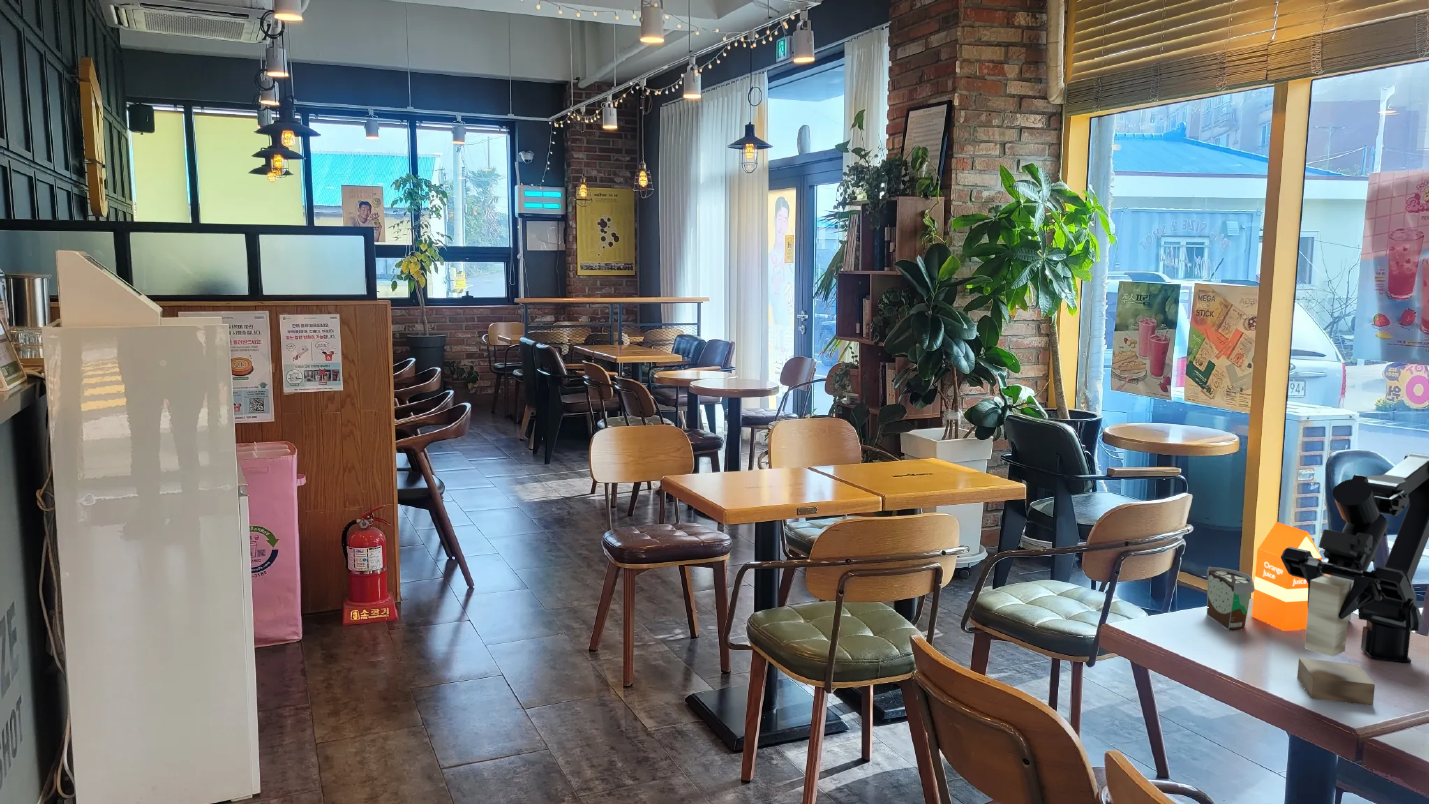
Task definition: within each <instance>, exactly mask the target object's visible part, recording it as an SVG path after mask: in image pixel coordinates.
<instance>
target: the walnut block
mask: <svg viewBox="0 0 1429 804" xmlns="http://www.w3.org/2000/svg"><path fill="white" fill-rule="evenodd" d="M1296 678H1297V681H1298V682H1299V683H1300V685H1301V686H1302V688H1303V689H1304V688H1305V689H1304V690H1305V692H1306V691H1307V692H1306V693H1307V695H1308V696H1309V698H1310V699H1311V698H1312V699H1314V700H1322V701H1330V702H1336V703H1345V702H1347V704H1355V705H1363V706H1369V707H1370V706H1371V707H1373V705H1374V700H1375V699H1374V697H1375V689H1376V684H1375V682H1374V681H1373V680H1372V679H1371V678H1370V677H1369V675H1368V674H1367V673H1366V672H1365V671H1364V670H1363V669H1362V667H1361V666H1360V665H1359V664H1357V663H1348V662H1338V661H1330V660H1320V659H1312V658H1304V657H1298V667H1297V677H1296Z"/></svg>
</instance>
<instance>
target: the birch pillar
mask: <svg viewBox="0 0 1429 804" xmlns="http://www.w3.org/2000/svg"><path fill="white" fill-rule="evenodd" d="M1351 583H1352V582H1347V581H1343V580H1339V579H1335V578H1330V577H1326V576H1321V577H1318V578H1315V579H1313V580H1311V581H1310V593H1309V604H1308V615H1307V626H1306V629H1305V636H1304V637H1305V640H1304V649H1306V650H1309V651H1312V652H1316V653H1320V654H1323V655H1326V656H1329V657H1335V656H1337V655H1339V654H1341V653H1343V652H1346V642H1347V635H1348V633H1347V632H1348V625H1349V621H1348V616H1347V617H1345V618H1344V619H1340V618H1339V616H1338V615H1339V612H1340V610H1341V607H1342V605H1343V603H1344V602H1345V600H1346V598H1347V596H1348V594H1349V593H1350V591H1351Z"/></svg>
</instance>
